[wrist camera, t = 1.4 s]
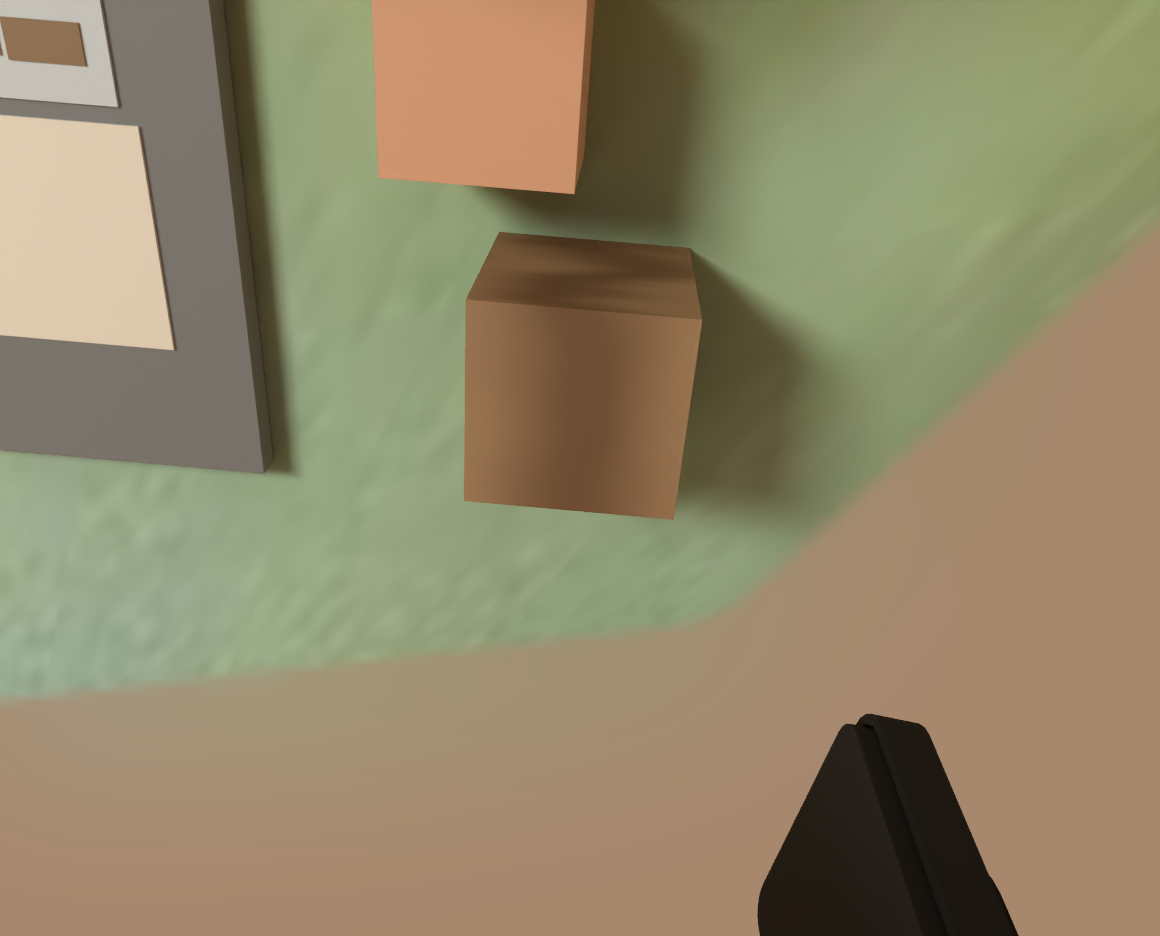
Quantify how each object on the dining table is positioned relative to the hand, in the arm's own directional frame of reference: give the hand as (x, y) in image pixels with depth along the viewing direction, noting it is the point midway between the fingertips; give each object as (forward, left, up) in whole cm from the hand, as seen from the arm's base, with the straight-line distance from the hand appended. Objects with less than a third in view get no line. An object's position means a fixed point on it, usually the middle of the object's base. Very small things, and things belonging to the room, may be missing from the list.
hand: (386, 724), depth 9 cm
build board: (+16, +2, -22) cm, 27 cm away
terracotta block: (+2, -4, -22) cm, 22 cm away
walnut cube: (-1, +4, -22) cm, 22 cm away
